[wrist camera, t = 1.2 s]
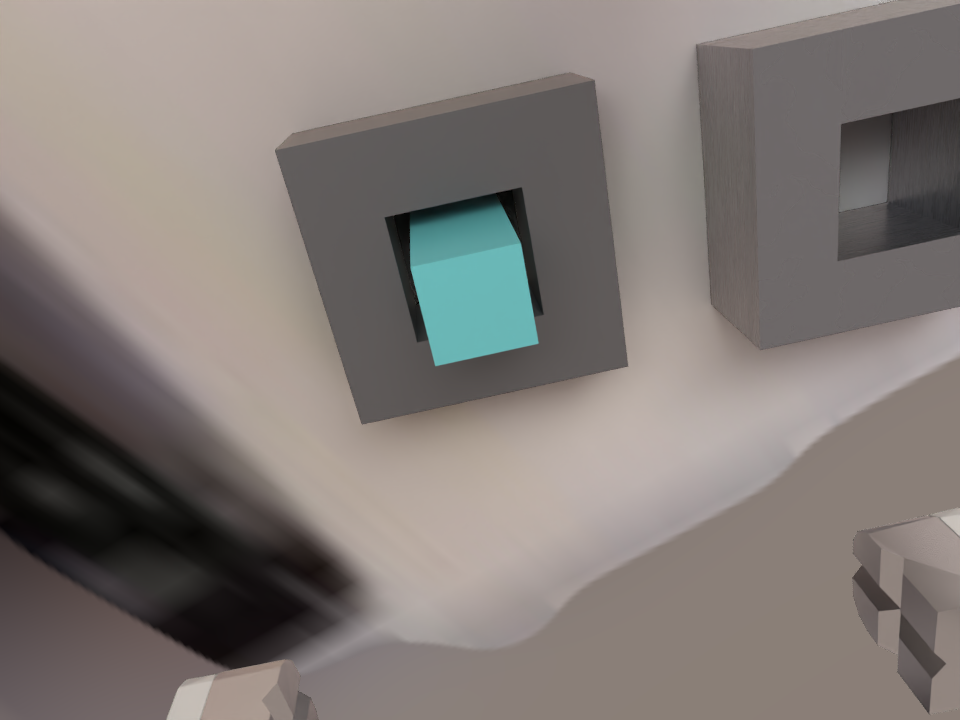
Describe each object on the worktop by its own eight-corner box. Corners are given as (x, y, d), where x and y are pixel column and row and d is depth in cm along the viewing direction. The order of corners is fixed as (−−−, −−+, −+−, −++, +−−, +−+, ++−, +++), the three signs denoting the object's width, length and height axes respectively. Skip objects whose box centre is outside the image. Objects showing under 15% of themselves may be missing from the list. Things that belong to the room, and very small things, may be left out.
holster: (367, 379, 32) (361, 424, 29) (292, 133, 28) (275, 150, 24) (603, 328, 32) (627, 366, 29) (570, 72, 28) (594, 80, 24)
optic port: (711, 304, 32) (760, 350, 28) (696, 44, 28) (752, 49, 23) (948, 252, 32) (1036, 289, 28) (975, -17, 28) (1086, -25, 23)
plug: (429, 285, 31) (435, 366, 24) (409, 206, 29) (410, 267, 22) (508, 268, 31) (538, 343, 24) (493, 188, 29) (521, 242, 22)
